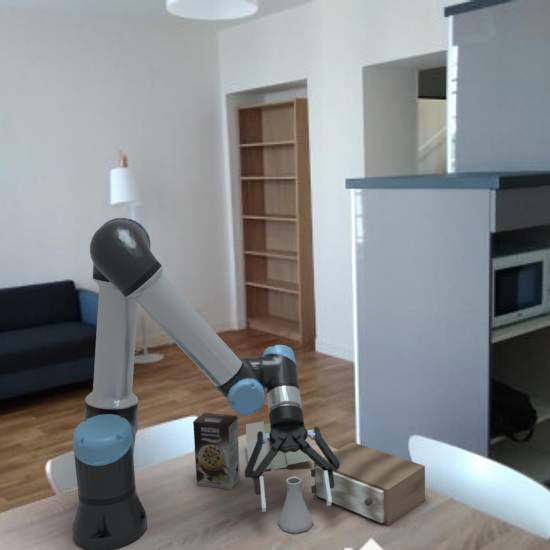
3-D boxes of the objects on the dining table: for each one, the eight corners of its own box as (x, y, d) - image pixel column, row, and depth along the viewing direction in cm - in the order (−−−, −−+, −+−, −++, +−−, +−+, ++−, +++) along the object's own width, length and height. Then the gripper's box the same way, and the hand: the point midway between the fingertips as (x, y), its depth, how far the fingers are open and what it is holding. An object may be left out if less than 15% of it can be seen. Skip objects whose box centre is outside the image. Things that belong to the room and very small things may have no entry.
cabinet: (309, 498, 147) (308, 464, 146) (353, 473, 158) (352, 442, 157) (383, 529, 133) (382, 493, 132) (425, 499, 144) (424, 465, 143)
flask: (296, 512, 141) (295, 468, 140) (320, 524, 136) (318, 480, 134) (271, 524, 137) (269, 480, 135) (294, 538, 131) (292, 492, 130)
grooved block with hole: (316, 473, 167) (306, 420, 177) (314, 460, 161) (303, 406, 170) (254, 486, 168) (246, 432, 177) (248, 473, 161) (241, 418, 170)
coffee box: (195, 485, 155) (191, 421, 152) (206, 473, 161) (203, 411, 158) (231, 490, 152) (227, 424, 149) (241, 477, 158) (237, 414, 156)
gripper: (338, 413, 150) (354, 506, 138) (230, 421, 148) (236, 517, 136) (342, 399, 144) (359, 495, 132) (229, 408, 142) (236, 506, 130)
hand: (297, 507), depth 134 cm, fingers open, 13 cm apart
